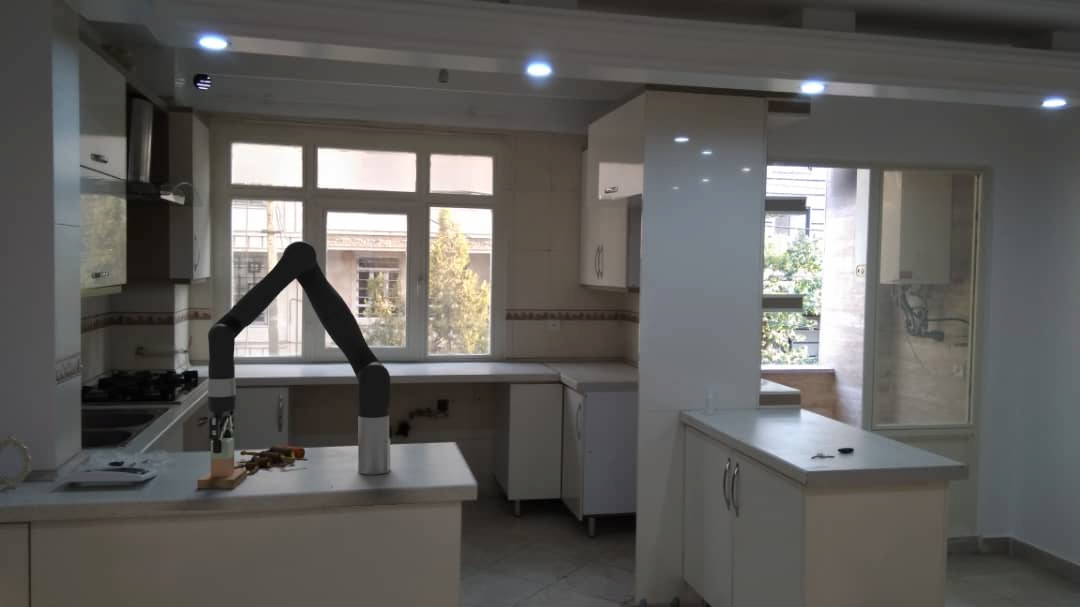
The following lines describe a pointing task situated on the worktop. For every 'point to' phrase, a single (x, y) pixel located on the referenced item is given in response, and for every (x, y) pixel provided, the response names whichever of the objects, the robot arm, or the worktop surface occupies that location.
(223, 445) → the sage block
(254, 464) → the toy
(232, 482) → the base board
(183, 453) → the worktop surface
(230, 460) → the terracotta block
